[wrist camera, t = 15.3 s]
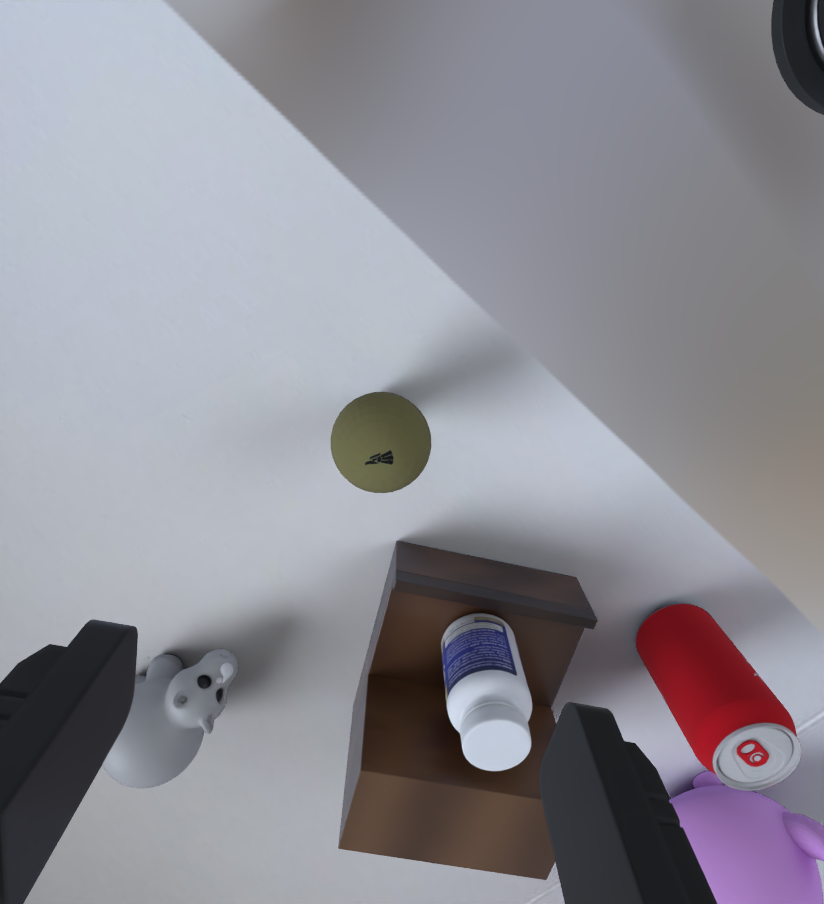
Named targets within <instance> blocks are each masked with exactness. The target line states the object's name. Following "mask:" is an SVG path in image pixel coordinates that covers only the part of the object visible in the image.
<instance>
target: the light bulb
mask: <svg viewBox="0 0 824 904" xmlns="http://www.w3.org/2000/svg"><path fill="white" fill-rule="evenodd" d="M331 451H332V456H333V459H334V462H335V464H336V466H337V468H338V469H339V471H340V472H341V474H342V475H343V476H344V477H345V478H346V479H347V480H348V481H349V482H350V483H352V484H353V485H355V486H356V487H358V488H360V489H363V490H365V491H369V492H374V493H387V492H393V491H396V490H399V489H402V488H403V487H405V486H407V485H409V484H410V483H411V482H413V481H414V480H415V479H416V478H417V477H418V476H419V475H420V473H421V472H422V471H423V470H424V468H425V466H426V464H427V462H428V459H429V455H430V451H431V434H430V430H429V427H428V424H427V421H426V419H425V417H424V416H423V414H422V413H421V411H420V410H419V409H418V408H417V407H416V406H415V405H414V404H413V403H411V402H410V401H409V400H407V399H405V398H403V397H402V396H399V395H396V394H393V393H387V392H373V393H370V394H366V395H363V396H361V397H359V398H357V399H355V400H353V401H352V402H351V403H349V404H348V405H347V406H346V407H345V408H344V409H343V410H342V411H341V412H340V414H339V416H338V418H337V419H336V421H335V424H334V426H333V429H332V434H331Z"/></svg>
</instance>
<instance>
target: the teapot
mask: <svg viewBox="0 0 824 904" xmlns="http://www.w3.org/2000/svg"><path fill="white" fill-rule="evenodd" d="M693 786H694V789H692V790H690V791H687V792H684V793H682V794H680V795H678V796H676V797H674V798H672V799H670V800H669V802H670V803H672V804H673V807H674V809H675V811H676V813H677V815H678V818H679V820H680V827H683V829H684V831H685V833H686V835H687V838H688V840H689V842H690V844H691V846H692V849H693V851H694V853H695V855H696V857H697V860H698V862H699V864H700V866H701V868H702V871H703V873H704V875H705V877H706V879H707V882H708V884H709V886H710V888H711V890H712V893H713V895H714V897H715V899H716V902H717V904H823V892H822V884H821V878H820V874H819V870H818V865H817V862H816V860H815V859H819V860H823V861H824V826H822V825H821V824H820V823H818V822H817V821H815V820H813V819H811V818H808V817H806V816H804V815H800V814H794V813H790V812H789V811H788V810H787V809H785V808H784V807H783V806H781V805H780V804H779V803H777V802H776V801H774V800H772V799H770V798H768V797H766V796H764V795H761V794H758V793H756V792H753V791H746V790H738V789H734V788H731V787H729V786H727V785H722V781H721V780H720V779H719V778H718V777H717V775H715V774H714V773H712V772H711V771H706V772H703V773H700V774H699V775H697V776H696V777H695V779H694V780H693Z"/></svg>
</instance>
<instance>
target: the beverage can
mask: <svg viewBox="0 0 824 904" xmlns="http://www.w3.org/2000/svg"><path fill="white" fill-rule="evenodd" d="M636 648H637V651H638V653H639V655H640V657H641V659H642V661H643V662H644V664H645V666H646V668H647V670H648V671H649V673H650V675H651V677H652V678H653V680H654V682H655V684H656V686H657V687H658V689H659V691H660V693H661V694H662V696H663V698H664V700H665V702H666V703H667V705H668V707H669V709H670V711H671V712H672V714H673V716H674V718H675V719H676V721H677V723H678V725H679V727H680V728H681V730H682V732H683V734H684V736H685V737H686V739H687V741H688V743H689V744H690V746H691V748H692V750H693V752H694V753H695V755H696V757H697V758H698V760H699V761H700V762H701V763H702V764H703V765H704V766H705V767H706V768H707V769H708V770H710V771H711V772H712V773H714V774H715V775H717V777H718V778H719V779H720V780H721V781H722V782H723V783H724V784H726V785H727V786H729V787H731V788H734V789H738V790H746V791H752V790H760V789H764V788H767V787H770V786H773V785H775V784H777V783H779V782H781V781H782V780H784V779H785V778H787V777H788V776H789V775H790V774H791V773H792V772H793V771H794V770H795V768H796V767H797V765H798V763H799V761H800V759H801V754H802V749H801V744H800V742H799V740H798V738H797V736H796V730H795V726H794V723H793V720H792V718H791V716H790V714H789V713H788V711H787V710H786V709H785V707H784V706H783V705H782V704H781V702H780V701H779V700H778V699H777V697H776V696H775V695H774V694H773V692H772V691H771V690H770V689H769V687H768V686H767V685H766V684H765V683H764V681H763V680H762V679H761V678H760V676H759V675H758V674H757V673H756V671H755V670H754V669H753V668H752V666H751V665H750V664H749V663H748V661H747V660H746V659H745V658H744V656H743V655H742V654H741V653H740V651H739V650H738V649H737V648H736V646H735V645H734V644H733V643H732V641H731V640H730V639H729V638H728V636H727V635H726V634H725V633H724V631H723V630H722V629H721V628H720V626H719V625H718V624H717V623H716V621H715V620H714V619H713V618H712V616H711V615H710V614H709V613H708V612H707V611H705V610H704V609H702V608H700V607H698V606H695V605H691V604H674V605H669V606H666V607H663V608H661V609H659V610H657V611H655V612H654V613H652V614H651V615H650V616H649V617H648V618H647V619H646V620H645V621H644V622H643V623H642V625H641V626H640V628H639V630H638V633H637V637H636Z"/></svg>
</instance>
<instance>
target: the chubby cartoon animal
mask: <svg viewBox="0 0 824 904" xmlns="http://www.w3.org/2000/svg"><path fill="white" fill-rule="evenodd" d="M237 671H238V663H237V660H236V657H235V656H234V655H233V654H232V653H231V652H230V651H228V650H225V649H215V650H212V651H210V652H208V653H207V654H206V655H205V656H204V657H203V658H202V659H201V661H200V662H199V663H198V664H196V665H194V666H191V667H189V668H186V669H184V670H183V665H182V662H181V661H180V659H179V658H178V657H176V656H173V655H160V656H157V657H156V658H154V659H153V660H152V662H151V663H150V665H149V667H148V670H147V675H146V676H143V675H138V676H135V689H134V697H133V701H132V705H131V709H130V712H129V715H128V717H127V720H126V722H125V724H124V727H123V729H122V730H121V732H120V734H119V736H118V738H117V739H116V741H115V743H114V745H113V746H112V748H111V750H110V752H109V753H108V755H107V757H106V759H105V760H104V762H103V764H102V767H103V769H104V770H105V771H106V773H107V774H108V775H109V776H110V777H111V778H112V779H114V780H115V781H117V782H118V783H120V784H122V785H125V786H128V787H132V788H150V787H155V786H159V785H161V784H164V783H166V782H168V781H170V780H172V779H173V778H175V777H176V776H178V775H179V774H180V773H181V772H182V771H183V770H184V769H185V768H186V767H187V766H188V765H189V764H190V763H191V761H192V760H193V759H194V757H195V755H196V754H197V752H198V750H199V748H200V745H201V742H202V739H203V735H204V731H205V732H206V733H207V734H210V733H211V732H212V730H213V723H214V720H215V719H216V718H217V717H218V716H219V715H220V713H221V712H222V710H223V709H224V707H225V704H226V697H227V689H228V686H229V685H230V683H231V682H232V681H233V679H234V678H235V676H236V674H237Z"/></svg>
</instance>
